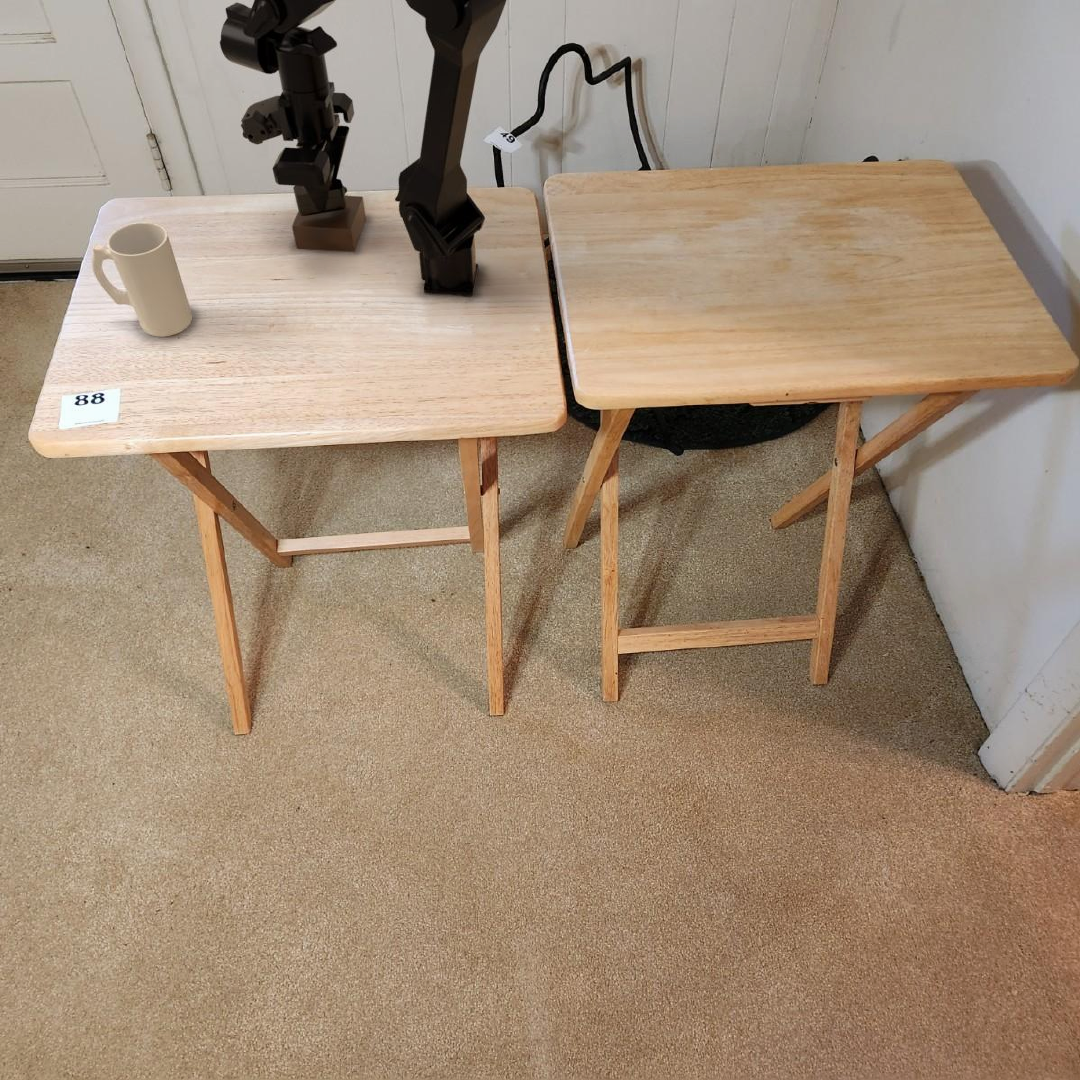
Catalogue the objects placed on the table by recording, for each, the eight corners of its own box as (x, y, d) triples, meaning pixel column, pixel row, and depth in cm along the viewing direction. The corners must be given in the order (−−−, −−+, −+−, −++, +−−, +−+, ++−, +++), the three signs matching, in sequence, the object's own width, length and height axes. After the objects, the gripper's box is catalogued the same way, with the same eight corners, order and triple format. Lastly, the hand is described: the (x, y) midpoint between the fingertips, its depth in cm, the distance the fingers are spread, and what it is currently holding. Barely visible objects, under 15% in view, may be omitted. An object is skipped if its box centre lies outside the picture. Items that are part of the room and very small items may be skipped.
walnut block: (366, 218, 137) (362, 196, 134) (354, 252, 132) (350, 229, 129) (310, 215, 137) (305, 193, 135) (296, 248, 132) (291, 226, 130)
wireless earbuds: (353, 209, 130) (349, 187, 128) (300, 218, 129) (295, 196, 127) (347, 192, 133) (343, 170, 131) (295, 201, 132) (290, 178, 130)
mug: (200, 305, 125) (173, 222, 115) (187, 339, 120) (158, 256, 111) (122, 303, 125) (89, 221, 115) (106, 337, 120) (70, 254, 111)
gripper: (260, 44, 125) (284, 158, 137) (217, 117, 113) (248, 234, 125) (346, 48, 124) (362, 162, 136) (312, 121, 112) (333, 239, 124)
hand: (326, 198), depth 130 cm, fingers closed on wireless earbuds, 5 cm apart
